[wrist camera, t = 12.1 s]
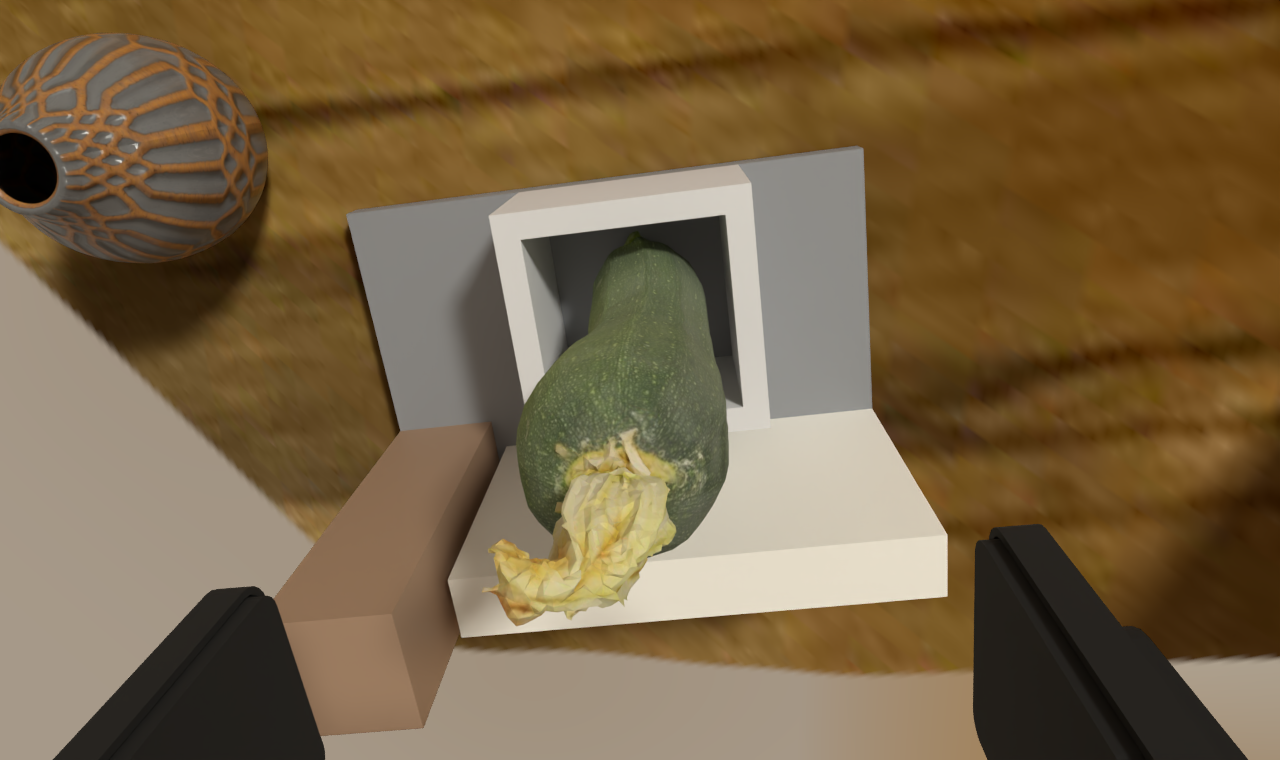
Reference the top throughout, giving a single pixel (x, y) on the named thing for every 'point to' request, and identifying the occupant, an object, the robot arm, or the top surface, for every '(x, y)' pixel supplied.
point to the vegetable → (619, 439)
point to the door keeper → (526, 349)
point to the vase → (129, 148)
